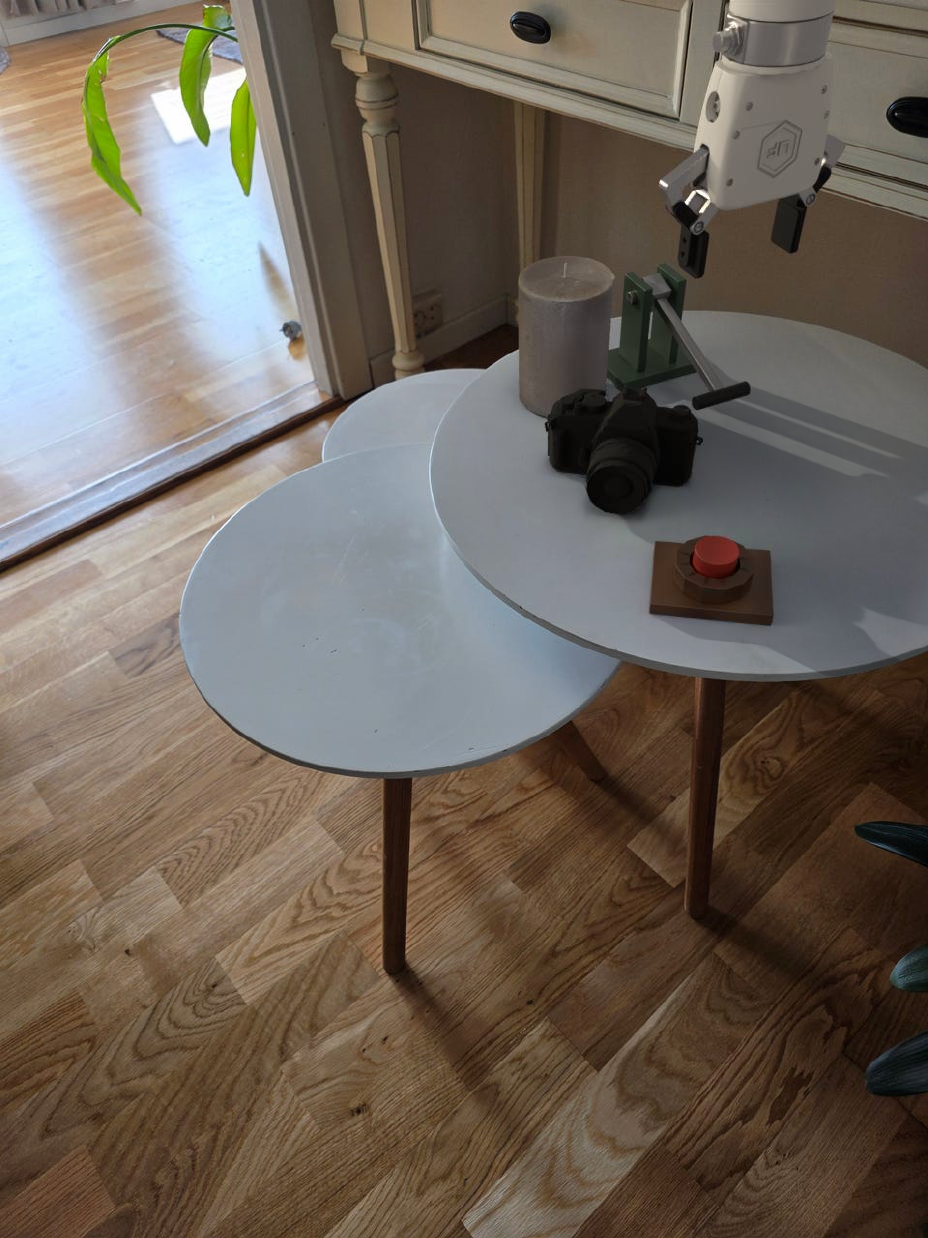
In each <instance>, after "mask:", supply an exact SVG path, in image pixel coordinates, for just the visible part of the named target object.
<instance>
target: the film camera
mask: <svg viewBox="0 0 928 1238" xmlns="http://www.w3.org/2000/svg"><path fill="white" fill-rule="evenodd" d="M648 390H649V389H648V386H644V387H642V388H631V387H628V385H625V386H624V389H623V391H622V392H621V391H620V392H619V393H618V394H617V395H615V396H613V398H612V400H608V399H607V398H606V396H607V393H605V391H604V390H599V389H579V390H578V391H576V392H574V393H572V394H569V395H566V396H564V397H562V398H561V399H560V400H558V401H556V402H555V403H554V405H553V406H552V409H551V413H550V414H549V415H548V417H547V420H546V421H545V422H544V428H545V432H546V433H547V456H548V458H549V459H548V460H549V464H550V466H551V468H552V469H553V470H555V471H556V472H562V473H569V474H577V475H585V491H586V495H587V498H588V500H589V502H591V504H593V506H595V507H596V508H598V509H599V510H601V511H603V512H604V513H607V514H612V515H617V516H619V515H620V516H621V515H628V514H631V513H634V512H636V511H637V510H638V509H640V508H641V507H642V506H643V505H644V503H645V501H646V500H647V499H648V497H649V496H650V494H651V492H652V488H653V485H654V484H655V485H660V486H661V485H663V486H668V487H669V486H670V487H682V486H684V485H685V484H687V483H688V482H689V481H690V479H691V478H692V474H693V468H694V459H695V455H696V448H697V446H701V445H702V444H703V443H704V442H705V441H704V438H703V437H701V436H699V431H700V429H699V420H698V418H697V417H696V416H695V414H694V413H693V411H692V409H691V408H690V407H689V406H687V405H685V404H678V405H674V406H673V407H672V408H670V407H666V406H658V404H657V402H656V401H655V399H654V398H653V397H651V395H650V394H649V393H648ZM604 396H605V397H604Z"/></svg>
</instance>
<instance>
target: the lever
mask: <svg viewBox="0 0 928 1238" xmlns="http://www.w3.org/2000/svg"><path fill="white" fill-rule="evenodd" d="M640 278H641V279H642V280H643V281H645V282H646V283H647V284H648V285H649V286H651V287H652V288H653V295H652V305H651V312H653V311H655V310H657V311H658V313H659V314H660V316H661V317H662V319H663V320H664V322H665V323H666V325H667V326H668V328H669V330H670V331H671V333H672V334H673V336H674V337H675V339H676V340H677V342H678V343H679V345H680V347H681V348H682V350H683V351H684V353H685V354H686V356H687V357H688V359H689V360H690V362H691V364H692V365H693V367H694V368H695V370H696V373H697V374H698V376H699V378H700V379H701V381H702V382H703V383H704V385H705V387H706V389H707V390H708V391H707V392H705V393H701V394H697V395H694V396H692V398H691V406H692V408H693V410H695V411H701V410H704V409H709V408H711V407H714V406H717V405H721V404H724V403H728V402H730V401H735V400H737V399H741V398H744V397H747V396H749V395H751V393H752V392H751V391H752V388H751V385H750V383H749V382H748V381H741V382H738V383H735V384H731V385H728V386H725V385H724V384H723V382H722V381H721V379H720V378H719V377H718V375H717V374H716V372H715V370H714V369H713V367H712V366H711V364H710V363H709V361H708V360H707V357H705V355H704V354H703V352H702V350H701V349H700V347H699V345H698V344H697V343H696V342H695V340H694V338H693V337H692V335H691V333H690V332H689V331H688V330H687V328H686V326H685V325H684V323H683V321H681V320H680V319H679V317H678V316H677V314H676V313H675V311H674V310H673V308H672V307H671V305H670V304H669V302H668V299H669V296H670V294H671V289H670V288H669V286H668V285H667V283H666V282H665V280H664V279H663V277H662V275H661V274H660V273H657V272H656V273H652V274H649V275H646V276H642V277H640Z"/></svg>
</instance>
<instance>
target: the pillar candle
mask: <svg viewBox="0 0 928 1238" xmlns="http://www.w3.org/2000/svg"><path fill="white" fill-rule="evenodd" d="M615 280H616V275H615V274H614V273H612V270H611V269H610V268H609V267H608V266H607V265H605V264H604V263H602V262H600V261H598V260H595V259H593V258H590V257H584V256H575V255H562V256H554V257H553V256H552V257H549V258H548V257H547V258H543V259H540V260H537V261H535V262H533V263H531V264H529V265H528V266H526V267H525V268H523V270H521V272H520V273H519V276H518V281H517V282H518V283H517V285H518V287H517V288H518V379H519V380H518V386H519V391H518V393H519V399H520V402H521V404H522V405H523V406H524V407H525V408H526V409H528V410H529V411H530V412H532V413H534V414H536V415H539V416H542V417H547V418H548V415H549V414H550V413H551V409H552V406H553V405H554V403H555V402H556V401H558V400H560V399H561V398H562V397H564V396H566V395H569V394H572V393H574V392H576V391H578V390H579V389H599V390H604V391H605V393H606V392H607V382H608V377H607V366H608V353H609V350H610V337H611V336H610V334H611V323H612V320H611V318H612V317H611V316H612V304H613V295H614V294H613V291H614V282H615ZM606 394H607V393H606ZM604 397H605V398H606V395H605V396H604Z"/></svg>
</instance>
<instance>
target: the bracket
mask: <svg viewBox="0 0 928 1238" xmlns="http://www.w3.org/2000/svg"><path fill="white" fill-rule="evenodd" d="M656 273H660V274H661V275H662V277H663V279H664V280H665V282H666V283H667V285H668V286H669V288H670V289H671V294H670V296H669V299H668V302H669V304H670V305H671V307H672V308H673V310H674V311H675V313H676V314H677V316H678V317H679V319H680V320H681V322H683V321H682V320H683V314H684V304H685V298H686V297H685V296H686V290H687V289H686V288H687V278H685V277H684V276H683V275H682V274H681V273H679V272H678V271H676V270H675V269H674V268H672V266H670V265H669V264H667V263H666V262H664V263H661V264H657V266H656ZM623 278H624V279H623V293H622V305H621V306H622V307H621V319H620V320H621V321H620V333H619V347H615V348H612V349H609V353H608V366H607V379H609V381H611V383H613V385H614V386H615V387H616V388H617V389H618V390H619V391H620V393H621V392H622V391H623V389H624V386H625V385H628V387H631V388H640V389H642V388H643V387H648V386H650V385H651V386H652V385H655V384H657V383H661V382H664V381H668V380H672V379H675V378H678V377H682V376H685V375H689V374H693V373H697V371H696V370H695V368H694V367H693V365H692V364H691V362H690V360H689V359H688V357H687V356H686V354H685V353H684V351H683V350H682V348H681V347H680V345H679V343H678V342H677V340H676V339H675V337H674V336H673V334H672V333H671V331H670V330H669V328H668V326H667V325H666V323H665V322H664V320H663V319H662V317H661V316H660V314H659V313H658V311H657V310H655V311H651V305H652V295H653V288H652V287H651V286H649V285H648V284H647V283H646V282H645V281H643V280H642V279H641V278H642V277H640V276H639V275H637V274H636V273H635V272H634V271H630V272H629V271H628V272H626V273H624V277H623ZM651 314H652V316H651ZM650 325H651V327H650ZM649 333H650V337H649Z"/></svg>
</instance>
